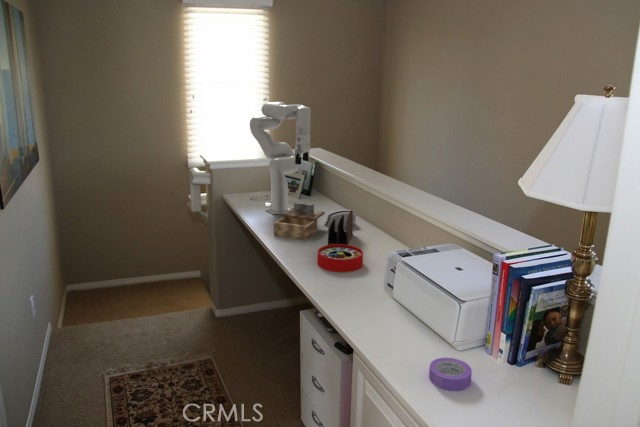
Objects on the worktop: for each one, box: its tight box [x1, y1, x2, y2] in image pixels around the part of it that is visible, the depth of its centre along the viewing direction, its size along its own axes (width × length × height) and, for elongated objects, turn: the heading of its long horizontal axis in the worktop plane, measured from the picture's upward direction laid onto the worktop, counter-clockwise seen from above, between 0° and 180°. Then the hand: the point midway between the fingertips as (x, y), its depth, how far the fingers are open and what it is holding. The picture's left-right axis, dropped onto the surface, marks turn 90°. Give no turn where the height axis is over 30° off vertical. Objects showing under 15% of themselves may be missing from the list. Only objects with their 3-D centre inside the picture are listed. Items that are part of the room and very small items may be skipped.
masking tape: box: [428, 357, 473, 392], centre depth 160 cm, size 12×12×4 cm
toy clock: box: [316, 244, 364, 273], centre depth 246 cm, size 20×6×20 cm
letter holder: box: [327, 209, 354, 245], centre depth 277 cm, size 10×20×14 cm, turn 170°
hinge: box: [324, 209, 357, 228], centre depth 300 cm, size 17×5×10 cm, turn 113°
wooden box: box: [273, 216, 318, 241], centre depth 284 cm, size 18×14×7 cm
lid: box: [282, 201, 326, 221], centre depth 292 cm, size 18×14×6 cm
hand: (301, 162), depth 299 cm, fingers open, 9 cm apart
